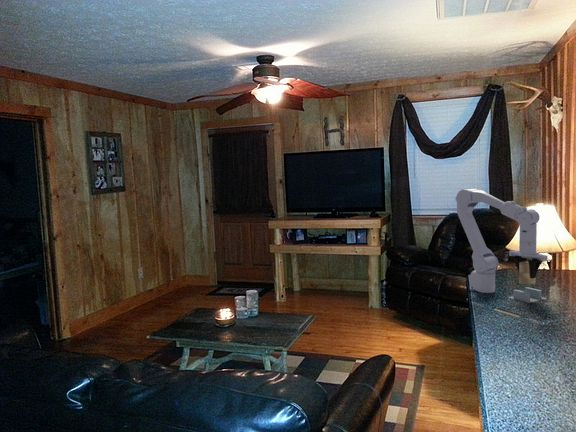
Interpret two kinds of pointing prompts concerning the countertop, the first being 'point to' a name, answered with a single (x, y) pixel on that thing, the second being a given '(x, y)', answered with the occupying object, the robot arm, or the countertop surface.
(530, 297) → the vise
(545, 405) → the countertop surface
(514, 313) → the mat
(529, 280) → the peg
